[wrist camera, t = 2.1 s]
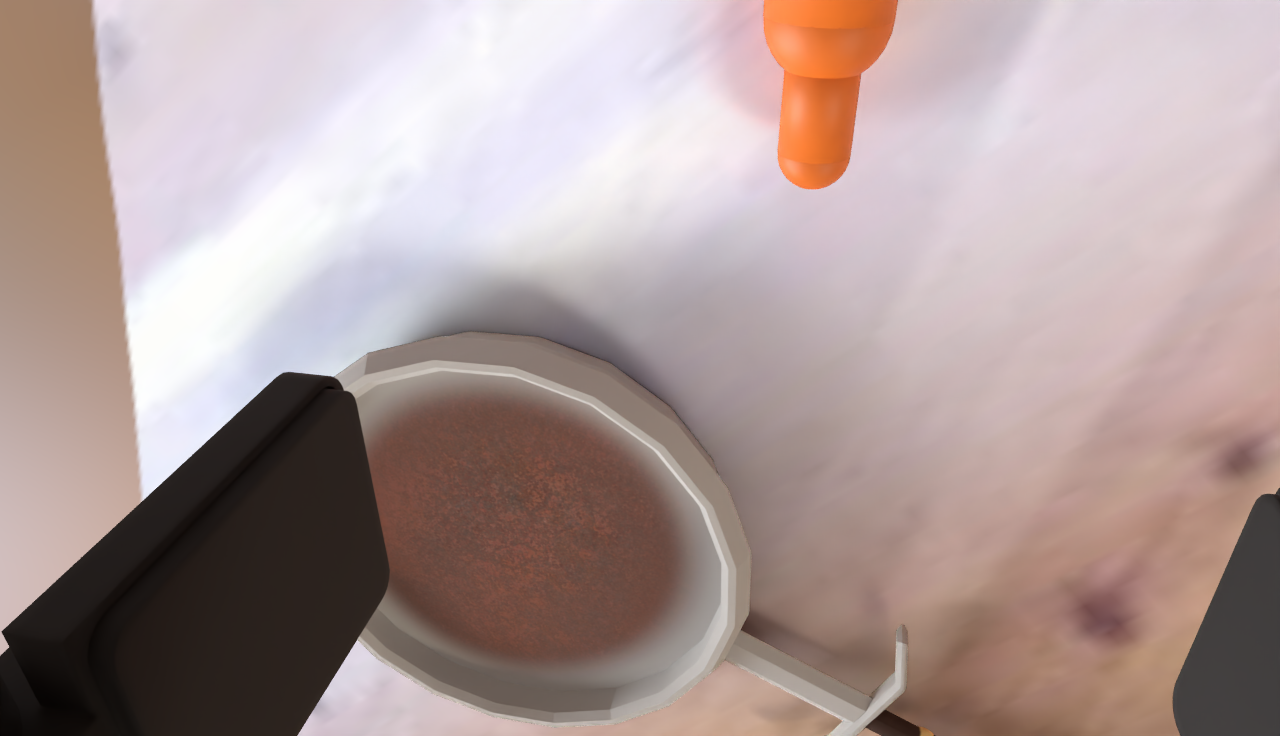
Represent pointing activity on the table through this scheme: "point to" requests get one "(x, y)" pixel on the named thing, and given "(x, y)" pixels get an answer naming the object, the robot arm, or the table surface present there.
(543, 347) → the frying pan
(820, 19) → the carrot
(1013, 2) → the table surface
